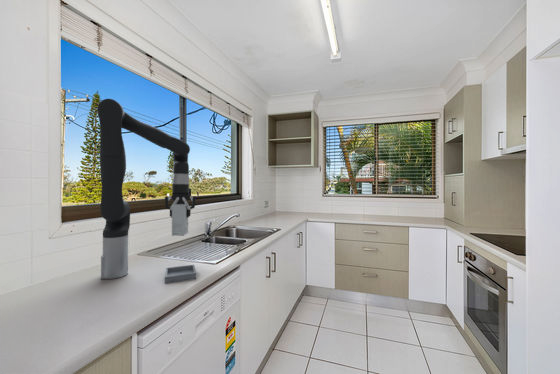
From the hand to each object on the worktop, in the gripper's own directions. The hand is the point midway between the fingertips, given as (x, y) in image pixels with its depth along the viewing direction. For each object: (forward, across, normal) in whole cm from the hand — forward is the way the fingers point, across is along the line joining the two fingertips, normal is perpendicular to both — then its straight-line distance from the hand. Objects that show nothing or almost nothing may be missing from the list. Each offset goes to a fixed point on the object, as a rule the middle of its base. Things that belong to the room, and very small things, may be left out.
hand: (180, 217), depth 119 cm
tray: (+24, 0, -14) cm, 28 cm away
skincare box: (+9, 0, 0) cm, 9 cm away
